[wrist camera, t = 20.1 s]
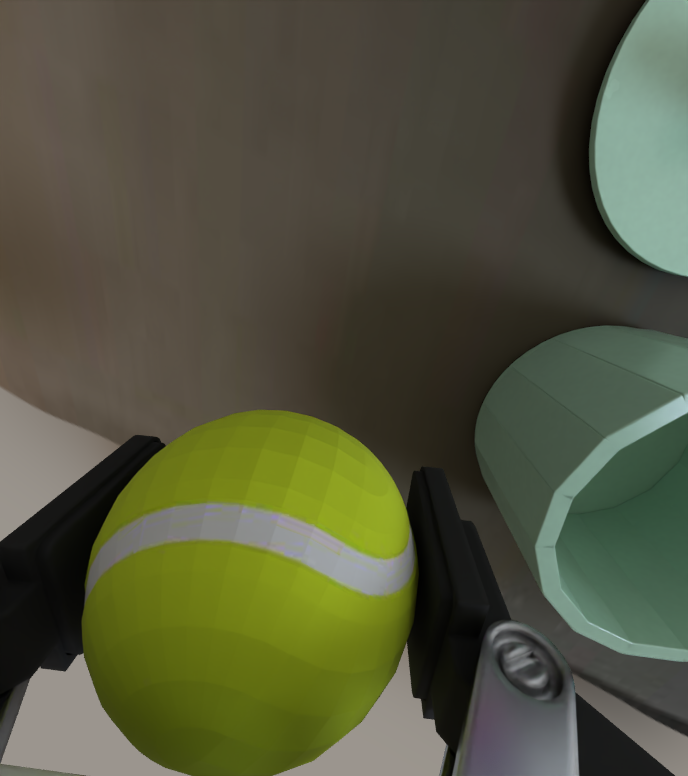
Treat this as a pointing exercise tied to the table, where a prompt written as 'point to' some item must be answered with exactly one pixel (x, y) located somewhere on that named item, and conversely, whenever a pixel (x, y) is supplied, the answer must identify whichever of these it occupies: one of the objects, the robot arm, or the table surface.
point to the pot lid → (646, 138)
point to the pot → (598, 481)
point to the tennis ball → (249, 595)
